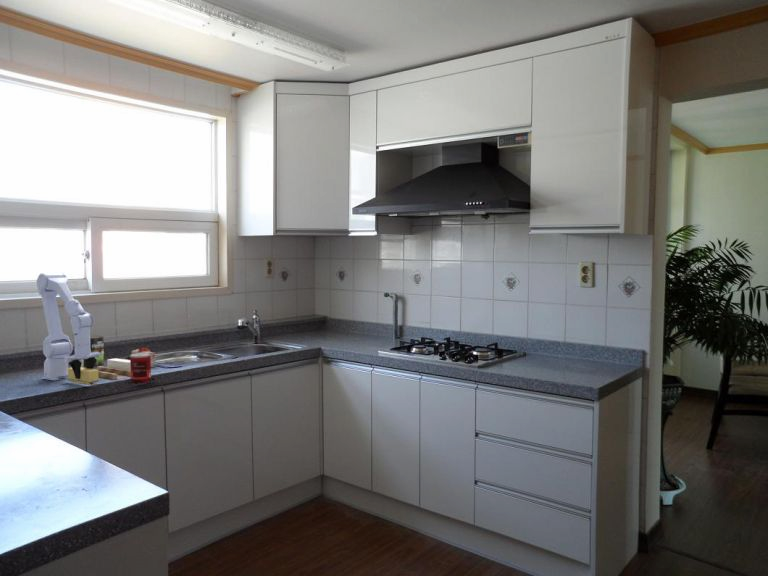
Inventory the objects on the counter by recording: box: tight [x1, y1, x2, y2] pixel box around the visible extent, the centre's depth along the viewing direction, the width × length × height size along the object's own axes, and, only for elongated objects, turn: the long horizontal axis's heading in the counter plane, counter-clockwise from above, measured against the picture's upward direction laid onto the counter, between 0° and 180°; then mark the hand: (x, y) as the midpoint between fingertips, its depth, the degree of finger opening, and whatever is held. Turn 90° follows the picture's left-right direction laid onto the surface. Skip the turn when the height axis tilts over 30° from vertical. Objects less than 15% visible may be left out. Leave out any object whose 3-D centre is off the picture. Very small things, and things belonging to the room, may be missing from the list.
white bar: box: [106, 358, 131, 371], centre depth 256 cm, size 14×4×5 cm, turn 60°
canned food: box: [129, 353, 152, 384], centre depth 244 cm, size 8×8×11 cm
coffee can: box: [79, 335, 105, 368], centre depth 275 cm, size 10×10×14 cm
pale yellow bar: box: [67, 367, 100, 385], centre depth 241 cm, size 14×4×5 cm, turn 60°
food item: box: [130, 346, 157, 368], centre depth 271 cm, size 14×8×10 cm, turn 46°
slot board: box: [96, 365, 131, 380], centre depth 253 cm, size 22×16×4 cm
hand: (83, 377), depth 241 cm, fingers closed on pale yellow bar, 4 cm apart
